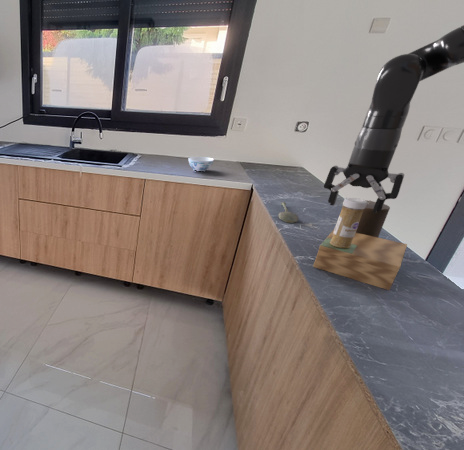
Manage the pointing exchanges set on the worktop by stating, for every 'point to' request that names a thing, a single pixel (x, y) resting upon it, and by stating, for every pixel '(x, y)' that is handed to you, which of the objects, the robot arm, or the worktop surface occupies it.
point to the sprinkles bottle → (348, 222)
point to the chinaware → (200, 163)
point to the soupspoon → (288, 215)
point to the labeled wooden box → (363, 259)
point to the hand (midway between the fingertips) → (352, 208)
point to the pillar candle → (372, 220)
